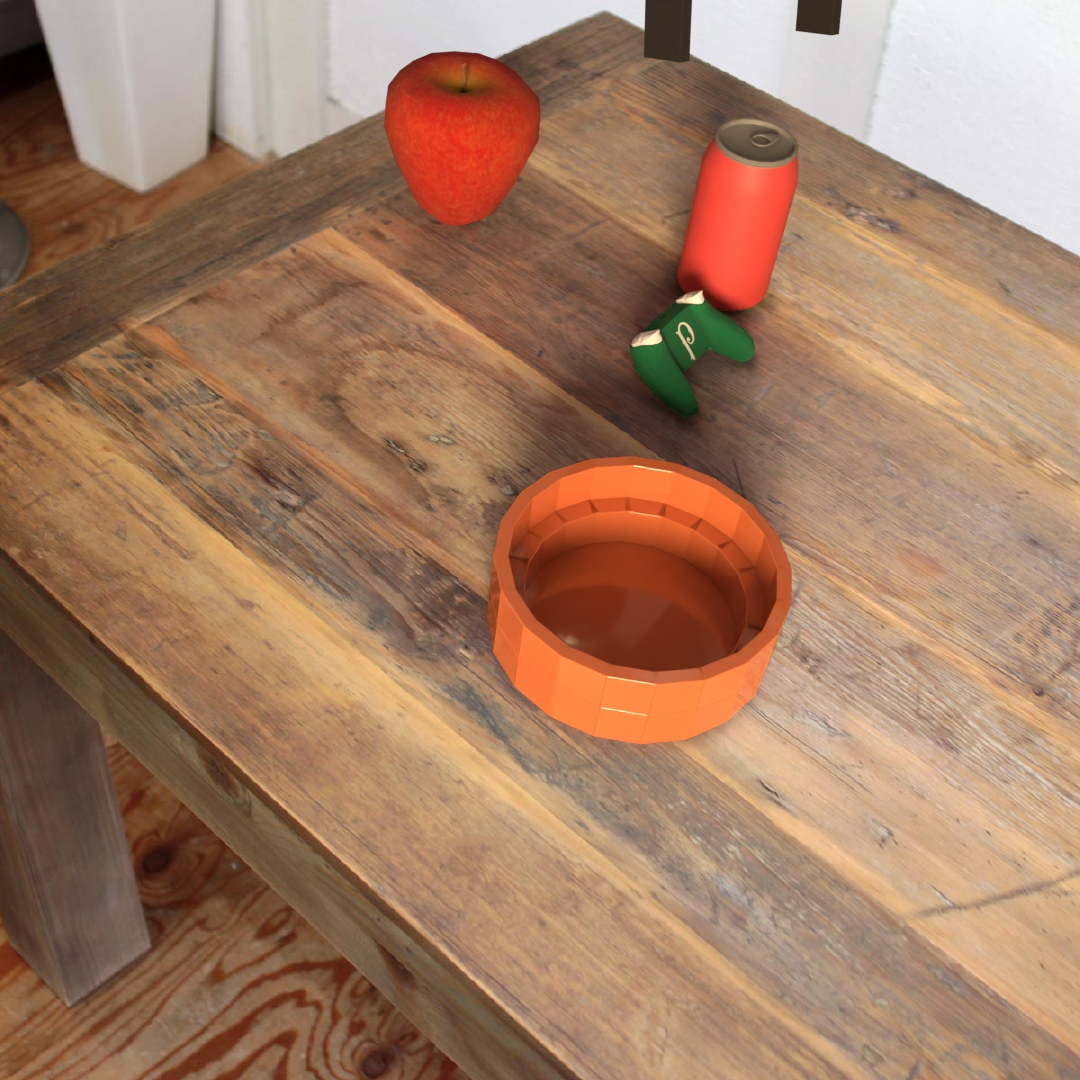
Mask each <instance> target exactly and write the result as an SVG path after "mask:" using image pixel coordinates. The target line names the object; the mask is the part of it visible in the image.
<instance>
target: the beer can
mask: <svg viewBox="0 0 1080 1080" xmlns="http://www.w3.org/2000/svg"><path fill="white" fill-rule="evenodd" d="M714 133H715V134H714V137H713V138H712V140H711V141H710V142H709V144H708V145H707V147H706V148H705V150H704V153H703V155H702V157H701V162H700V168H699V171H698V176H697V179H696V185H695V189H694V194H693V199H692V203H691V209H690V213H689V217H688V222H687V227H686V231H685V236H684V241H683V245H682V250H681V255H680V259H679V264H678V267H677V268H678V269H677V274H676V278H677V281H678V283H679V287H680V289H681V290H682V291H683V292H684V293H685V294H687V293H691V292H693V291H701V290H702V291H703V293H702V294H703V296H704V297H705V298H706V300H707V301H708V302H709V303H710V304H711V305H712V306H713V307H714V308H716V309H717V310H719V311H720V312H739V311H744V310H748V309H750V308H752V307H754V306H756V305H758V304H759V303H761V302H762V300H763V299H764V298H765V297H766V295H767V293H768V291H769V286H770V282H771V279H772V275H773V271H774V268H775V265H776V261H777V258H778V254H779V251H780V246H781V244H782V240H783V236H784V233H785V229H786V226H787V222H788V218H789V215H790V211H791V208H792V204H793V200H794V197H795V194H796V190H797V186H798V181H799V166H800V165H799V159H798V154H799V143H798V141H797V138H796V137H795V136H794V135H793V134H792V133H790V131H789V130H788V129H785V128H784V127H782V126H780V125H779V124H777V123H774V122H771V121H769V120H765V119H760V118H756V117H755V118H754V117H741V118H734V119H730V120H727V121H725V122H723V123H721V124H720V125H719V126H718V127H717V128H716V130H715V132H714Z"/></svg>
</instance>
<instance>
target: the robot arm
mask: <svg viewBox="0 0 1080 1080" xmlns="http://www.w3.org/2000/svg"><path fill="white" fill-rule="evenodd" d="M842 6H843V0H797V6H796V17H795V18H796V20H795V32H800V33H808V34H815V35H816V34H817V35H822V36H823V35H825V36H831V37H832V36H837V35H840V29H841V17H842ZM692 13H693V0H645V1H644V35H643V37H644V38H643V58H647V59H653V60H659V61H660V60H661V61H665V62H666V61H667V62H673V63H680V64H681V63H686V62H690V60H691V59H690V58H691V35H692V34H691V33H692Z"/></svg>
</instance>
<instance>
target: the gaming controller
mask: <svg viewBox="0 0 1080 1080" xmlns="http://www.w3.org/2000/svg"><path fill="white" fill-rule="evenodd" d="M702 293H703V291H702V290H701V291H693V292H691V293H687V294H686V293H685V294H683V295H681V296H680V297H678V298H677V299H676V300H675V303H673V304H672V305H670V306H669V307H667V308H666V309H664V311H662V312H661V313H660V314H659V315H658V316H656V317H655V318H654V319H653V320H652V321H651V322H650V323H649V324H648V325H647V326H646V327H645V328H644V329H643V331H641V332H640V333H638V334H637V335H636V336H635V337H634V338H633V339H632V341H631V343H630V344H629V353H630V357H631V360H632V367H633V369H634V371H635V372H636V373H637V375H638V376H639V378H640V379H641V380H642V381H643V383H644V384H645V385H646V387H647V388H648V389H649V390H650V391H651V392H652V394H654V396H655V397H657V399H659V400H660V401H661V402H662V403H663V404H664V405H665V406H666V407H667V408H668V409H670V410H671V411H673V412H674V413H675V414H676V415H678V416H680V417H681V418H682V419H684V420H688V419H689V418H691V417H692V416H694V415H696V414H697V413H699V411H700V406H699V402H698V399H697V396H696V393H695V390H694V388H693V386H692V384H691V383H690V382H689V380H688V379H687V377H686V375H685V374H684V373H685V372H686V371H688V370H689V369H690V368H691V367H692V366H693V365H694V364H695V363H696V362H697V361H699V359H700V358H701V357H702V356H703V355H704V354H705V353H706V352H707V351H708V350H710V351H712V352H715V353H717V354H719V355H720V356H723V357H725V358H727V359H729V360H732V361H734V362H740V363H746V362H748V361H750V360H751V359H752V358H753V356H754V354H755V349H756V345H755V341H754V338H753V337H752V336H751V335H750V333H749V332H748V331H747V330H746V328H745V327H743V326H742V325H741V324H739V323H738V322H737V321H736V320H734V319H733V318H732V317H730V316H728V315H727V314H725V313H723V311H720V310H717V309H716V308H714V307H713V306H712V305H711V304H710V303H709V302H708V301H707V300H706V298H705V297H704V296H703V294H702Z"/></svg>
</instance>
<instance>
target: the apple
mask: <svg viewBox="0 0 1080 1080" xmlns="http://www.w3.org/2000/svg"><path fill="white" fill-rule="evenodd" d="M383 128H384V130H385V133H386V137H387V141H388V144H389V146H390V150H391V152H392V157H393V158H394V163H395V164H396V166H397V168H398V170H399V171H400V173H401V175H402V177H403V179H404V181H405V183H406V184H407V186H408V188H409V190H410V193H411V194H412V196H413V197H414V200H415V201H416V203H417V205H418V207H420V208H421V209H422V210H424V211H425V212H427V214H430V215H431V216H432V217H434V218H435V219H436V220H437V221H438V222H440V223H441V224H444V225H447V226H450V227H461V226H465V225H469V224H471V223H475V222H478V221H481V220H484V219H485V218H487V217H489V216H490V215H492V214H493V213H495V212H496V211H497V209H498V208H499V206H500V205H501V204H502V203H503V201H504V200H505V198H506V197H507V196H508V194H509V193H510V192H511V191H512V189H513V188H514V186H515V184H516V182H517V181H518V178H519V177H520V175H521V173H522V171H523V170H524V167H525V166H526V164H527V162H528V160H529V159H530V157H531V155H532V154H533V152H534V150H535V148H536V146H537V144H538V142H539V140H540V130H541V129H540V128H541V102H540V97H539V96H538V95H537V94H536V92H535V91H534V90H533V89H532V88H531V87H530V86H529V85H528V84H527V82H526V81H525V80H524V79H523V78H522V76H520V74H519V73H518V72H517V71H516V70H514V69H513V68H511V67H510V66H508V65H507V64H506V63H504V62H503V61H501V60H500V59H496V58H493V57H491V56H488V55H485V54H483V53H479V52H471V51H457V50H451V51H439V52H438V51H435V52H430V53H428V54H425V55H422V56H421V57H418V58H416V59H413V60H412V61H410V62H409V63H407V65H405V66H404V67H403V68H401V69H399V71H398V72H397V73H396V74H395V76H394V77H393V78H392V79H391V81H390V82H389V84H388V85H387V89H386V96H385V106H384V120H383Z"/></svg>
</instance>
